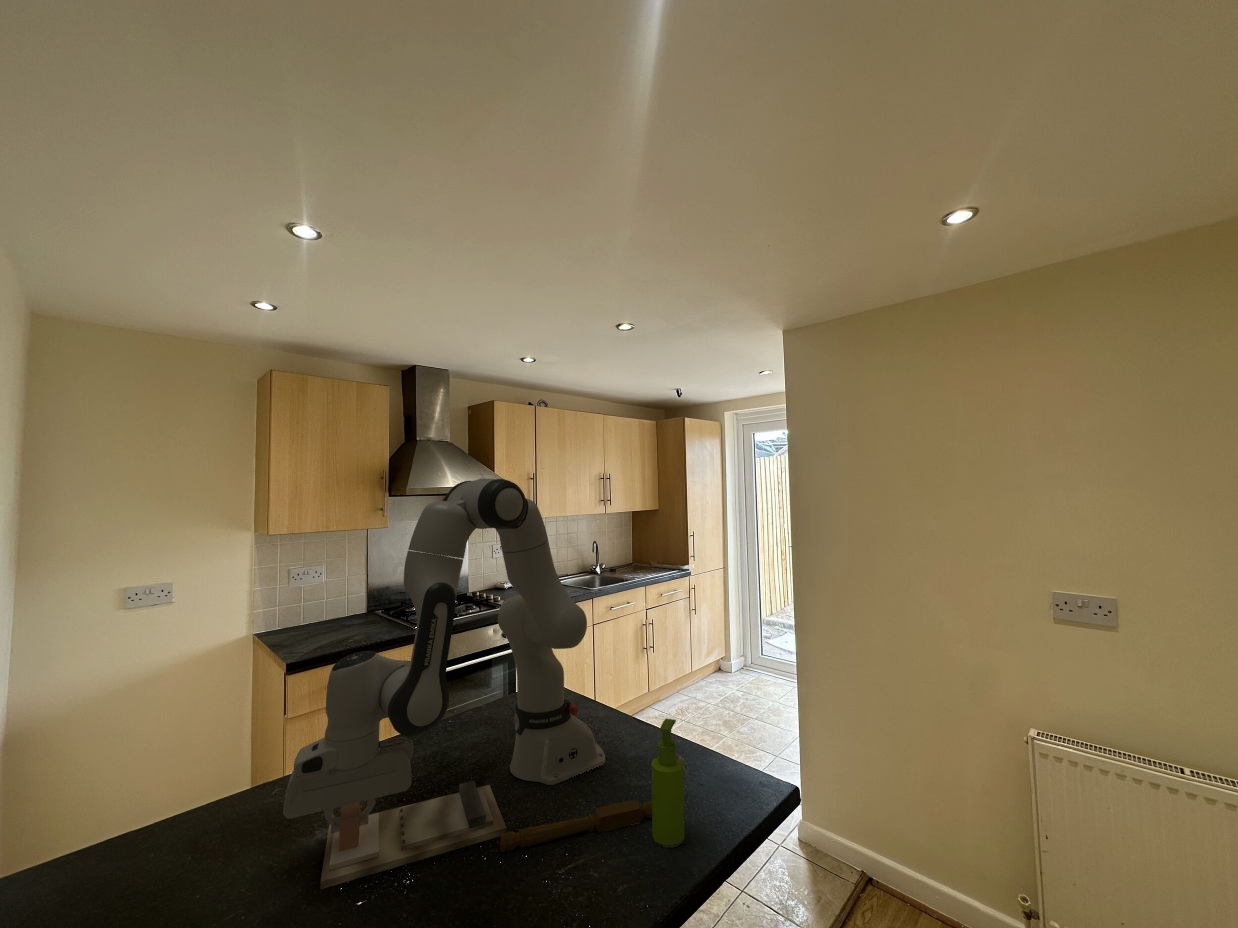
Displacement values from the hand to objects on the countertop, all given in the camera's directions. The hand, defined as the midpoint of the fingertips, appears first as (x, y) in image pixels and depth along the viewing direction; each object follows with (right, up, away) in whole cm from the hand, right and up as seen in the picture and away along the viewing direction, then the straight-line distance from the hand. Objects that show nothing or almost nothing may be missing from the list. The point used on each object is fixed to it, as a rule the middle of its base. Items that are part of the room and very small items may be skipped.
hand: (349, 826), depth 89 cm
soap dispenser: (+58, -4, +3) cm, 58 cm away
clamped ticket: (+10, -4, +5) cm, 12 cm away
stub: (+1, -3, 0) cm, 3 cm away
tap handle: (+41, -5, +5) cm, 42 cm away
